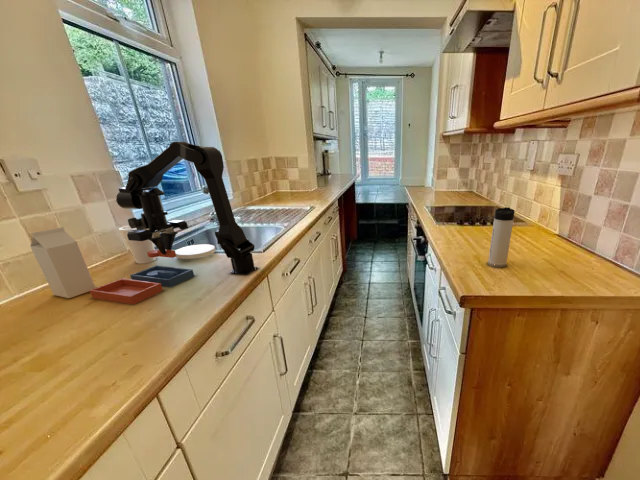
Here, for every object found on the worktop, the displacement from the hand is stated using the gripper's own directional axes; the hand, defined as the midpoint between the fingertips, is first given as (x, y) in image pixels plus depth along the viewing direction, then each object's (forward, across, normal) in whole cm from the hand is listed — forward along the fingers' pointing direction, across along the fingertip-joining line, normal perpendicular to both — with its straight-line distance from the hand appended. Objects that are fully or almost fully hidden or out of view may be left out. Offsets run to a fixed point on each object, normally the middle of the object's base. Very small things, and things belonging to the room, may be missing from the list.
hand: (166, 253), depth 113 cm
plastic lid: (+5, -13, -1) cm, 14 cm away
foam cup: (+5, -3, -15) cm, 16 cm away
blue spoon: (+4, +10, +8) cm, 14 cm away
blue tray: (+5, +10, +8) cm, 14 cm away
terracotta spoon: (+1, 0, -2) cm, 2 cm away
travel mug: (+5, -32, +114) cm, 119 cm away
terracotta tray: (+5, +22, +8) cm, 24 cm away
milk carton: (+5, +25, -9) cm, 27 cm away
